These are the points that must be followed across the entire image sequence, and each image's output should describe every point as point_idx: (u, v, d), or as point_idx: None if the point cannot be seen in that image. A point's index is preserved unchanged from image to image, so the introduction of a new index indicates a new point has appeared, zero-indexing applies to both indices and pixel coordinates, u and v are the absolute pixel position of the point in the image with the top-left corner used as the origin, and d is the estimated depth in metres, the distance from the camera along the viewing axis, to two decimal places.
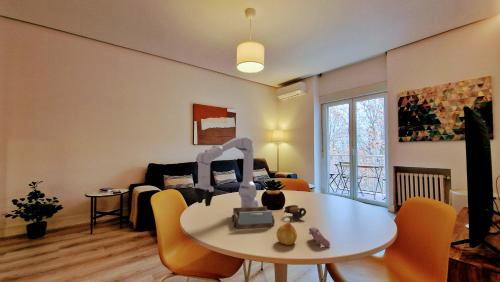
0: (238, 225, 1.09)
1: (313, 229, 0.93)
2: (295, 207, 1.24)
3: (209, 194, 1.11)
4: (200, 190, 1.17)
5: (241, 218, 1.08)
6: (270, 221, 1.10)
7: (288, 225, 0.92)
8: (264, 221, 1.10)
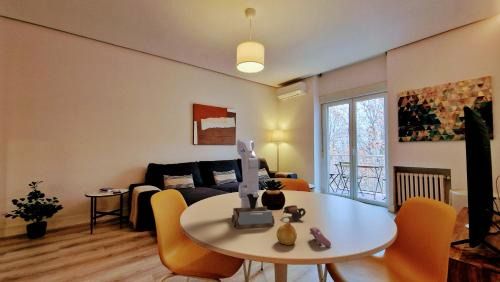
0: (238, 225, 1.09)
1: (314, 229, 0.93)
2: (294, 207, 1.23)
3: (254, 198, 1.17)
4: (252, 196, 1.18)
5: (241, 218, 1.08)
6: (270, 221, 1.10)
7: (288, 225, 0.92)
8: (264, 221, 1.10)
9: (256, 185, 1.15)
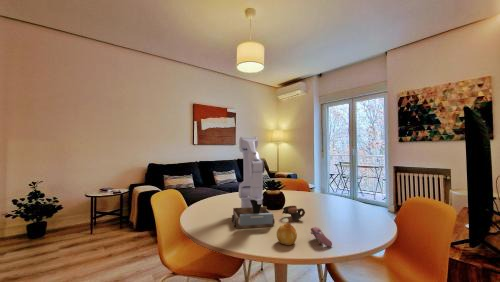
0: (238, 225, 1.09)
1: (315, 229, 0.93)
2: (294, 208, 1.23)
3: (257, 204, 1.08)
4: (256, 202, 1.09)
5: (241, 220, 1.07)
6: (270, 222, 1.10)
7: (288, 225, 0.92)
8: (264, 222, 1.10)
9: (260, 191, 1.07)
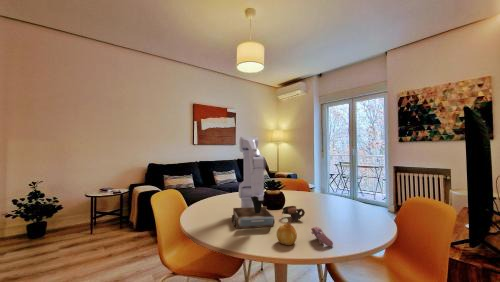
0: (238, 225, 1.09)
1: (316, 229, 0.93)
2: (293, 208, 1.22)
3: (258, 201, 1.06)
4: (257, 199, 1.07)
5: (242, 223, 1.06)
6: (270, 223, 1.10)
7: (288, 225, 0.92)
8: (264, 224, 1.10)
9: (261, 187, 1.05)
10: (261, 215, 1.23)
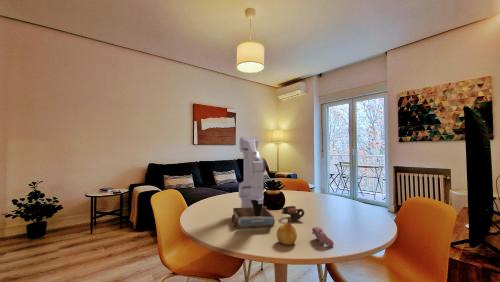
0: (238, 225, 1.09)
1: (316, 229, 0.93)
2: (293, 208, 1.22)
3: (258, 204, 1.06)
4: None
5: (242, 223, 1.06)
6: (270, 223, 1.10)
7: (288, 225, 0.92)
8: (264, 224, 1.10)
9: (261, 190, 1.05)
10: (261, 215, 1.23)
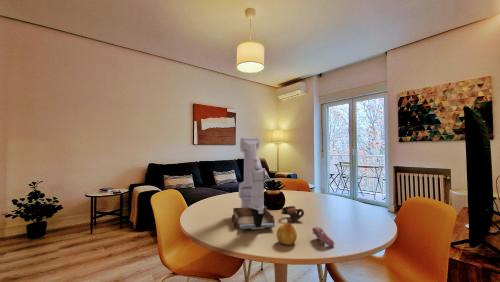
0: (238, 225, 1.09)
1: (317, 229, 0.93)
2: (293, 208, 1.22)
3: (259, 215, 1.04)
4: None
5: None
6: None
7: (288, 225, 0.92)
8: None
9: (261, 200, 1.05)
10: None
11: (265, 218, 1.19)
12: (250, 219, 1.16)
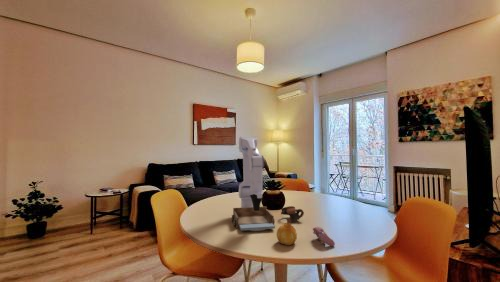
0: (238, 225, 1.09)
1: (317, 229, 0.93)
2: (292, 208, 1.21)
3: (257, 199, 1.08)
4: None
5: None
6: None
7: (288, 225, 0.92)
8: None
9: (260, 185, 1.07)
10: (261, 215, 1.23)
11: (265, 218, 1.19)
12: (250, 219, 1.16)
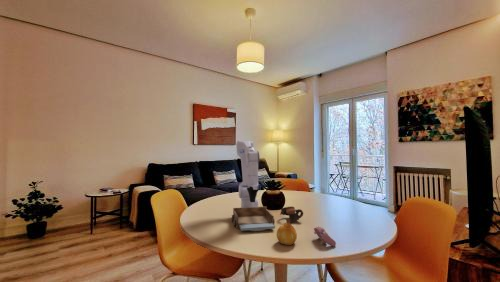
0: (238, 225, 1.09)
1: (319, 229, 0.94)
2: (292, 209, 1.21)
3: (253, 191, 1.17)
4: (252, 189, 1.18)
5: None
6: None
7: (288, 225, 0.92)
8: None
9: (256, 178, 1.16)
10: (261, 215, 1.23)
11: (265, 218, 1.19)
12: (250, 219, 1.16)
